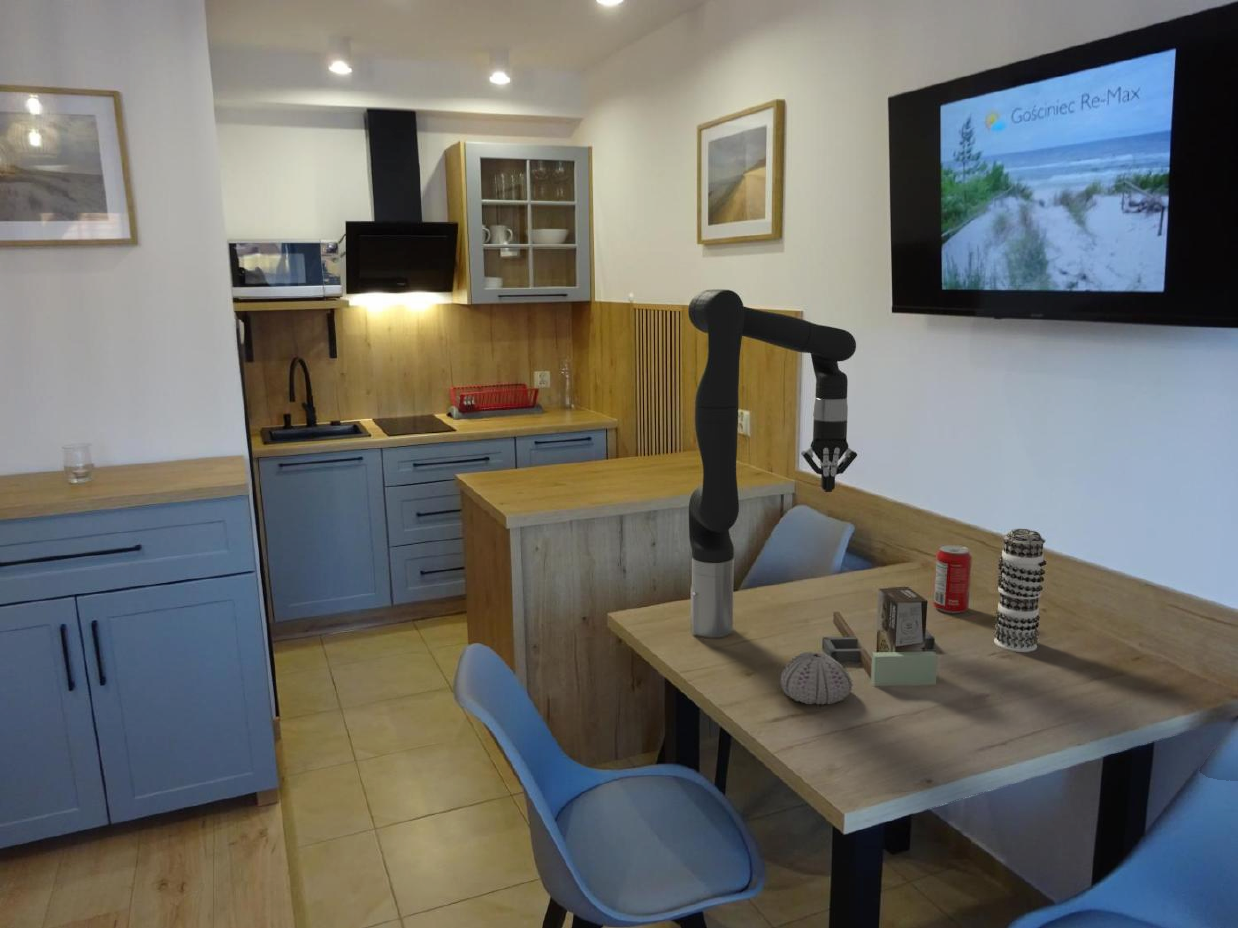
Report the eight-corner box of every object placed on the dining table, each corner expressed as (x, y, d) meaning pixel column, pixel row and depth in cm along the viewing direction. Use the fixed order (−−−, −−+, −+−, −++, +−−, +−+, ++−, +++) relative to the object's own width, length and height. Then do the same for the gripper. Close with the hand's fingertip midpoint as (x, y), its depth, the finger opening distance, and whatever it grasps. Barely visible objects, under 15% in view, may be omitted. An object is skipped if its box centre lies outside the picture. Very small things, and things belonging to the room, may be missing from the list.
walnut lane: (874, 684, 171) (875, 672, 170) (833, 621, 203) (833, 611, 202) (933, 683, 171) (934, 671, 171) (882, 621, 203) (883, 610, 202)
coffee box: (924, 679, 173) (929, 601, 170) (893, 681, 172) (897, 602, 169) (904, 659, 182) (908, 585, 179) (874, 661, 181) (877, 587, 178)
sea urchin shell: (766, 696, 167) (767, 656, 165) (801, 673, 177) (803, 635, 175) (830, 718, 158) (832, 676, 157) (863, 692, 168) (865, 652, 167)
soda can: (928, 611, 209) (932, 550, 206) (938, 601, 215) (941, 542, 212) (963, 617, 204) (967, 555, 202) (971, 607, 211) (976, 547, 208)
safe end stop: (873, 685, 170) (875, 656, 169) (870, 681, 172) (872, 652, 171) (935, 684, 171) (937, 655, 169) (932, 680, 172) (933, 651, 171)
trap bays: (830, 662, 181) (831, 651, 180) (815, 637, 194) (816, 626, 194) (944, 661, 181) (945, 649, 181) (921, 635, 194) (922, 625, 194)
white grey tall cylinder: (1017, 633, 195) (1026, 524, 190) (1048, 649, 186) (1059, 535, 181) (982, 638, 192) (990, 528, 187) (1013, 655, 184) (1022, 539, 179)
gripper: (805, 420, 198) (802, 495, 201) (863, 419, 198) (860, 494, 201) (798, 415, 205) (796, 488, 209) (854, 414, 205) (851, 487, 209)
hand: (827, 491), depth 205 cm, fingers closed
